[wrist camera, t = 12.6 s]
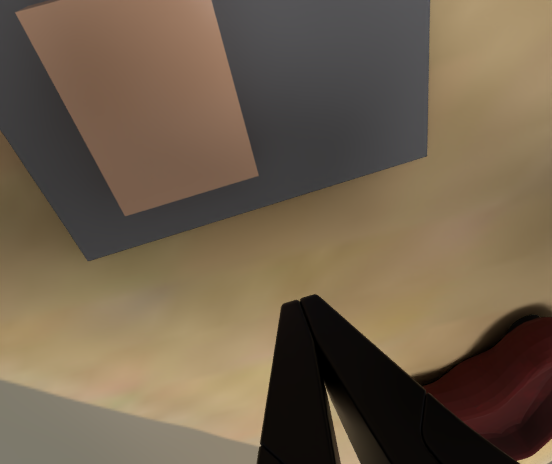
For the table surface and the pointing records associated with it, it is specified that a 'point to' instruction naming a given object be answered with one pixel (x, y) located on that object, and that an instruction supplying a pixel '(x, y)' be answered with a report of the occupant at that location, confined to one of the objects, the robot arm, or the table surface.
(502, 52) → the table surface
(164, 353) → the table surface
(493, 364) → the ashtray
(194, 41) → the tile
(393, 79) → the mat
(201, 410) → the table surface
